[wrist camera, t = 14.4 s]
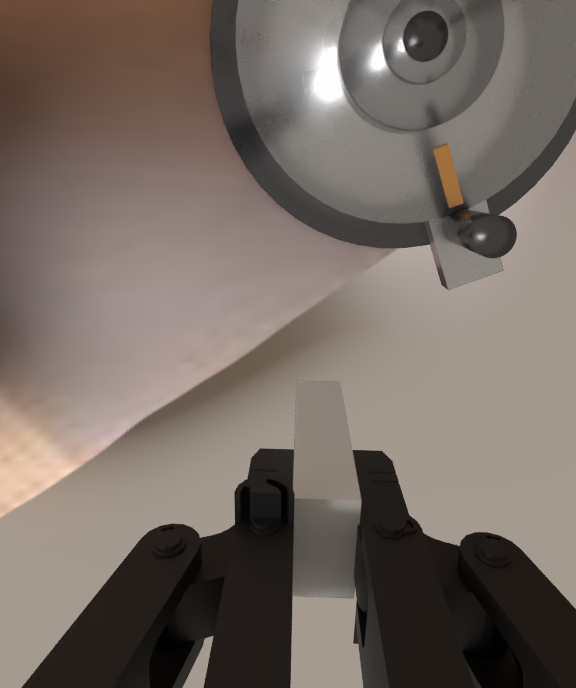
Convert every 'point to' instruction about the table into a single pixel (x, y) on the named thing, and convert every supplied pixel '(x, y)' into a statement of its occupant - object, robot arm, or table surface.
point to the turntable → (416, 148)
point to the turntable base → (302, 201)
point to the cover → (417, 59)
